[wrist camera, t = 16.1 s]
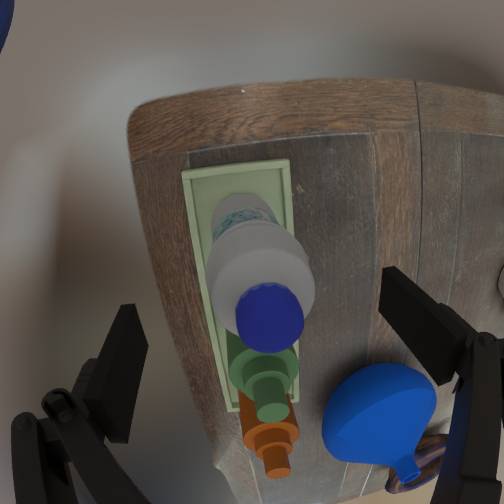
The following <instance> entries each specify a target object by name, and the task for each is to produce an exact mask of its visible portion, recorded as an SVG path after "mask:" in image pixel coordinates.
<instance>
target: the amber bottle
mask: <svg viewBox="0 0 504 504" xmlns="http://www.w3.org/2000/svg"><path fill="white" fill-rule="evenodd" d="M237 390H238V389H237ZM286 397H287V401H288V405H289V409H290V412H289V415H288V416H287V417H286V418H285V419H283V420H281V421H279V422H275V423H265V422H262V421H260V420H259V419H258V418H257V414H256V408H255V402H254V401H253V400H251V399H250V398H248V397H247V396H246V394H245V393H244V392H241V391H240V390H238V400H239V409H240V418H241V427H242V435H243V442H244V444H245V446H246V447H247V448H249V449H251V450H254V451H256V456H257V457H258V458H260V459H262V460H264V466H265V471H266V476H267V477H268V478H272V479H277V478H282V477H285V476H287V475H289V474H290V473H291V468H290V464H289V460H288V455H289V454H290V453H291V451H292V444H293V443H294V442H295V441H296V440H297V438H298V437H299V428H298V425H297V421H296V418H295V414H294V411H293V407H292V404H291V400H290V396H289V393H287V394H286Z"/></svg>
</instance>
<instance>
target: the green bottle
mask: <svg viewBox="0 0 504 504" xmlns="http://www.w3.org/2000/svg"><path fill="white" fill-rule="evenodd" d="M225 330H226V345H227V360H228V373H229V379H230V381H231V383H232V384H233V385H234V387H236V388H237V389H238V390H240V391H241V392H244V393H245V394H246V396H247V397H248V398H250V399H251V400H253V401H254V402H255V408H256V414H257V418H258V419H259V420H260V421H262V422H265V423H275V422H279V421H281V420H283V419H285V418H286V417H287V416H288V415H289V412H290V409H289V405H288V401H287V397H286V394H287V393H288V391H289V390H290V387H291V383H292V382H293V381H294V380H295V378H296V377H297V375H298V372H299V360H298V357H297V355H296V352H295V349H294V346H293V345H292V346H290V347H289V348H287V349H286V350H283V351H281V352H277V353H261V352H257V351H255V350H253V349H251V348H250V347H248V346H246V345H245V343H244V342H243V341H242V340H241V338H240V337H239V336H237V335H235V334H233V333H231V332H230V331H229V330H227V329H226V328H225Z"/></svg>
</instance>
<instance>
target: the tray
mask: <svg viewBox="0 0 504 504" xmlns="http://www.w3.org/2000/svg"><path fill="white" fill-rule="evenodd" d="M181 175H182V180H183V181H182V182H183V188H184V195H185V202H186V208H187V215H188V221H189V227H190V233H191V239H192V245H193V251H194V256H195V262H196V267H197V273H198V278H199V283H200V289H201V294H202V299H203V304H204V309H205V314H206V319H207V324H208V329H209V333H210V338H211V343H212V347H213V352H214V356H215V361H216V365H217V369H218V374H219V378H220V382H221V386H222V391H223V395H224V399H225V403H226V407H227V411H228V412H235V411H240V409H239V400H238V390H237V388H236V387H234V385H233V384H232V383H231V381H230V379H229V373H228V360H227V345H226V330H225V327H224V326H223V325H222V324H221V323H220V322H219V320H218V319H217V317H216V315H215V313H214V310H213V307H212V303H211V299H210V295H209V291H208V289H207V285H206V280H205V270H206V264H207V259H208V255H209V252H210V250H211V248H212V243H213V239H212V233H211V221H212V217H213V213H214V211H215V209H216V208H217V206H218V205H219V204H220V203H221V202H222V201H224V200H225V199H226V198H228V197H229V196H231V195H233V194H251V195H256V196H258V197H260V198H261V199H262V200H264V201H265V202H266V203H267V204H268V205H269V206H270V208H271V209H272V211H273V213H274V215H275V217H276V220H277V222H278V223H279V225H280V226H281V227H283V228H285V229H286V230H287V231H288V232H290V233H291V234H292V236H293V237H294V220H293V204H292V190H291V176H290V163H289V160H288V159H285V158H283V159H272V160H262V161H252V162H243V163H234V164H226V165H218V166H210V167H203V168H196V169H189V170H184V171H182V172H181ZM294 238H295V237H294ZM293 346H294V349H295V352H296V355H297V357H298V360H299V342H298V340H297V341H296V342H295V343H294V344H293ZM288 393H289V396H290V400H291V403H294V402H299V372H298V375H297V377H296V378H295V380H294V381H293V382H292V383H291V387H290V390H289V391H288Z"/></svg>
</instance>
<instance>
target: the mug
mask: <svg viewBox="0 0 504 504" xmlns="http://www.w3.org/2000/svg"><path fill="white" fill-rule="evenodd" d="M498 288H499V291H500V293H501V295H502V296H503V298H504V267H503V269H502V271H501V274H500V277H499V281H498Z"/></svg>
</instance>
